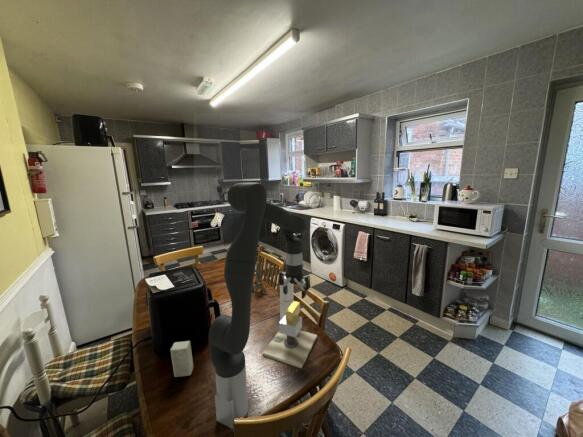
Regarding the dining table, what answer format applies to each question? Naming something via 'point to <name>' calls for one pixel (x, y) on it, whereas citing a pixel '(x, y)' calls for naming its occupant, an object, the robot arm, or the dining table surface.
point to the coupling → (291, 320)
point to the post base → (291, 348)
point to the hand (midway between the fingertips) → (294, 295)
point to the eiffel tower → (258, 279)
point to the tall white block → (285, 299)
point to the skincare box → (182, 358)
